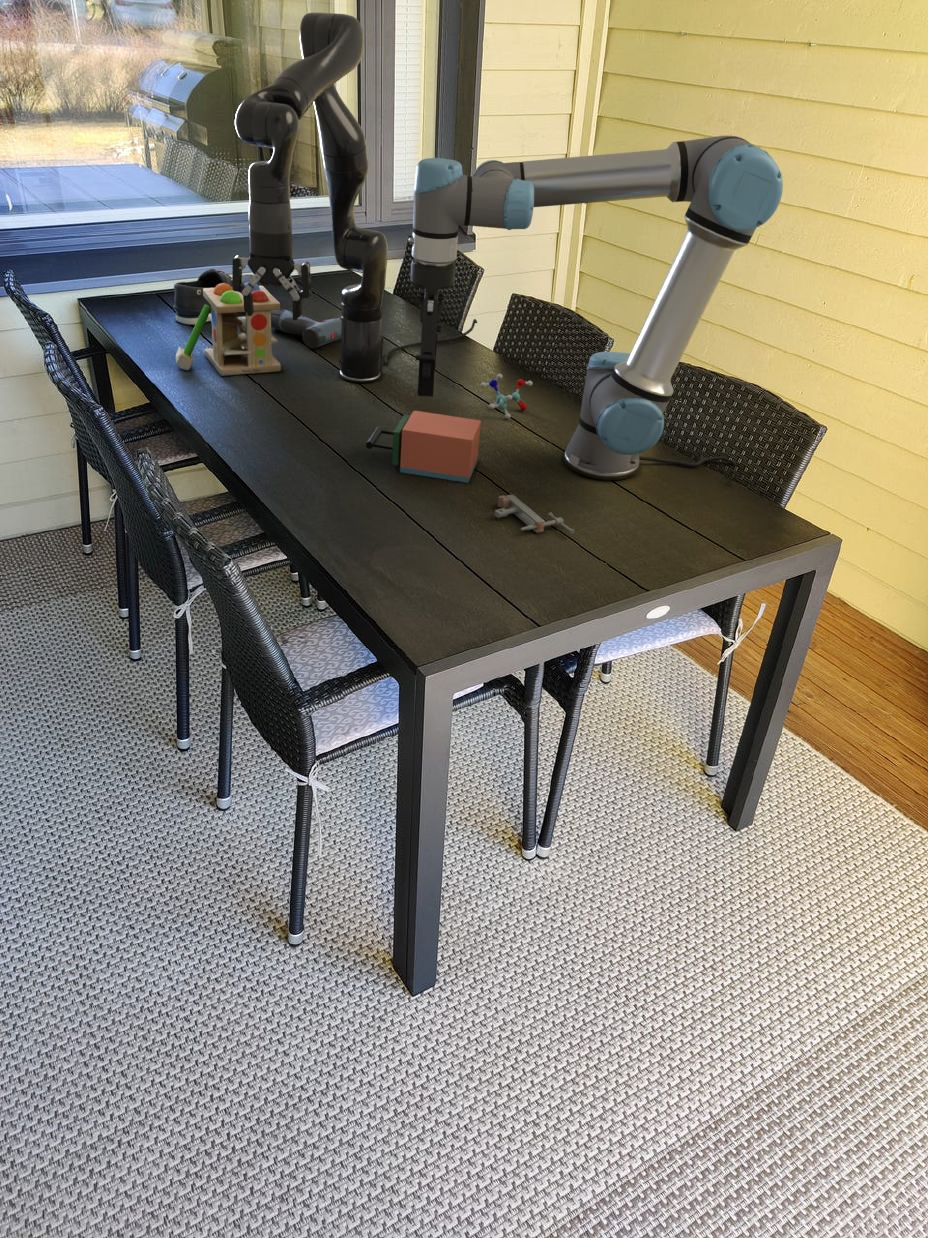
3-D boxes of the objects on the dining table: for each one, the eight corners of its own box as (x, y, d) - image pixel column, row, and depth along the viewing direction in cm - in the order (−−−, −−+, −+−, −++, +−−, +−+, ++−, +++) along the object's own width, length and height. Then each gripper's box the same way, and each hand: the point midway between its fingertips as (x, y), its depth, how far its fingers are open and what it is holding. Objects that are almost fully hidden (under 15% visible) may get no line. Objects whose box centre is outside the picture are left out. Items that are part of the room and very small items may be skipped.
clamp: (484, 498, 180) (530, 489, 184) (483, 509, 181) (528, 500, 186) (529, 536, 169) (576, 526, 174) (527, 547, 171) (574, 537, 175)
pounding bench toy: (183, 379, 220) (176, 299, 210) (169, 357, 231) (162, 280, 221) (282, 371, 230) (280, 294, 220) (264, 350, 240) (262, 276, 230)
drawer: (364, 460, 192) (365, 427, 188) (376, 442, 199) (377, 410, 195) (453, 474, 190) (456, 441, 186) (462, 456, 197) (465, 423, 194)
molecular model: (528, 411, 213) (513, 366, 211) (488, 425, 216) (474, 381, 215) (541, 408, 223) (527, 366, 222) (503, 422, 227) (489, 380, 225)
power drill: (305, 316, 264) (364, 334, 256) (257, 332, 251) (318, 351, 243) (305, 296, 261) (365, 314, 253) (257, 311, 248) (318, 330, 240)
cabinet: (399, 472, 191) (402, 429, 186) (411, 451, 200) (413, 410, 195) (468, 482, 190) (472, 440, 185) (477, 461, 198) (481, 420, 193)
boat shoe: (280, 303, 273) (279, 264, 268) (193, 326, 249) (189, 285, 244) (246, 294, 279) (244, 257, 273) (158, 317, 255) (153, 276, 250)
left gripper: (313, 225, 178) (314, 314, 187) (235, 217, 178) (239, 307, 187) (306, 235, 172) (307, 326, 181) (225, 227, 172) (230, 319, 181)
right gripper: (414, 240, 175) (409, 356, 187) (407, 278, 154) (402, 406, 166) (456, 243, 175) (448, 359, 187) (454, 282, 155) (446, 409, 167)
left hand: (272, 316), depth 184 cm, fingers open, 8 cm apart
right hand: (426, 381), depth 177 cm, fingers open, 13 cm apart
